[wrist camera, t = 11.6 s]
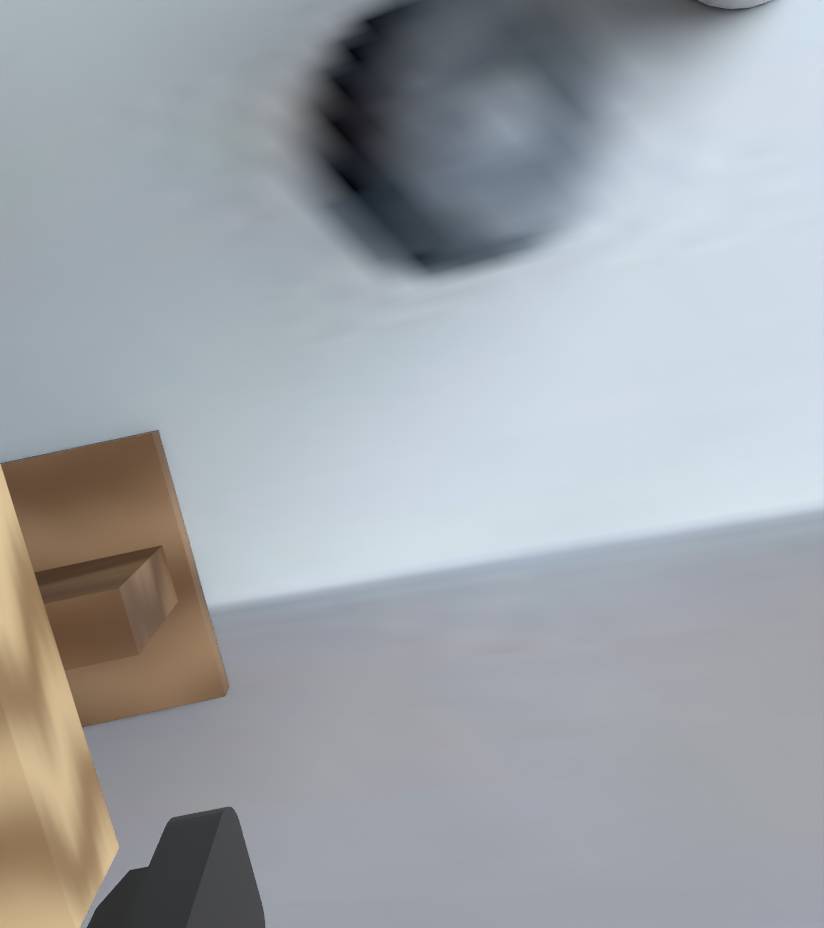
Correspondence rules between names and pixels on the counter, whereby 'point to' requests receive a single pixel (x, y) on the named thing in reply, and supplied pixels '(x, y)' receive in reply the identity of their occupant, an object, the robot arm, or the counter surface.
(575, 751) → the counter surface
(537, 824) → the counter surface
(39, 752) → the oak batten
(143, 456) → the ridge stand
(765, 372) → the counter surface
